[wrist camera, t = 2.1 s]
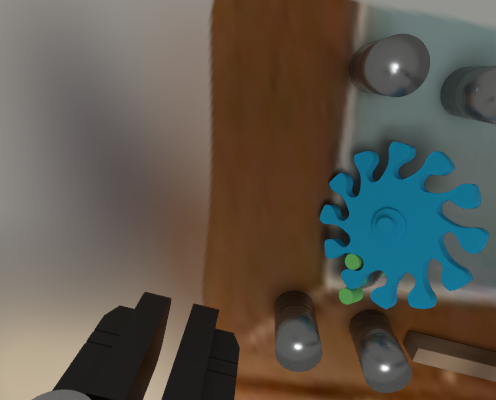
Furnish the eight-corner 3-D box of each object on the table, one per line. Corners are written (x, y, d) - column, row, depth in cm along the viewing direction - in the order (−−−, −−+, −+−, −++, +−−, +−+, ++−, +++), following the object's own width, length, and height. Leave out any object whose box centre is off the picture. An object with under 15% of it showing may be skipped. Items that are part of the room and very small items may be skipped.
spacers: (498, 73, 24) (555, 73, 19) (381, 347, 30) (401, 397, 26) (358, 36, 24) (380, 26, 19) (270, 319, 30) (270, 365, 25)
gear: (370, 109, 23) (531, 212, 18) (411, 123, 28) (552, 211, 22) (284, 245, 28) (389, 362, 22) (330, 240, 32) (428, 337, 27)
